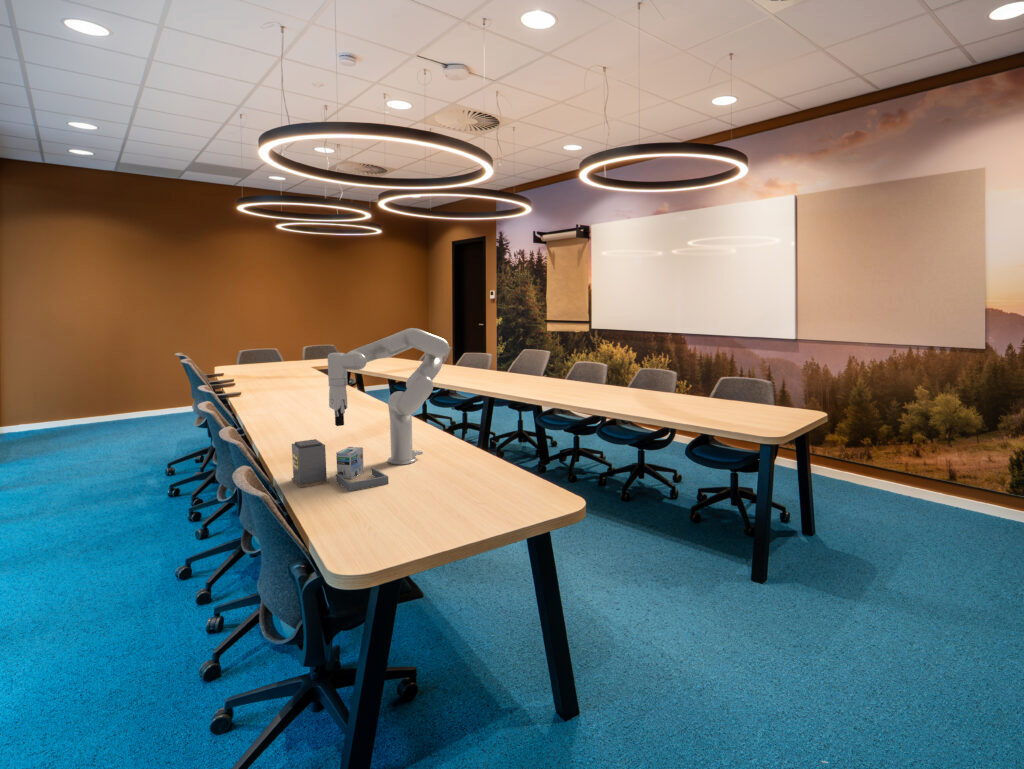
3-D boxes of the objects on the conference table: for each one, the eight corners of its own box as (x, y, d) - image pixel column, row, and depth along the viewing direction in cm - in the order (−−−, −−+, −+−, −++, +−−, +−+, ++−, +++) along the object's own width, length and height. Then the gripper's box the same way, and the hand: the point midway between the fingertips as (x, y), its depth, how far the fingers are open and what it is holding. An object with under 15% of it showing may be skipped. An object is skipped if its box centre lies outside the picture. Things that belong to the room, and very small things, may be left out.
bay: (373, 474, 222) (373, 467, 221) (388, 483, 210) (388, 476, 209) (335, 481, 213) (335, 474, 212) (349, 491, 201) (348, 483, 200)
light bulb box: (352, 479, 215) (350, 453, 214) (336, 478, 217) (335, 452, 215) (364, 472, 226) (363, 446, 224) (349, 471, 227) (348, 446, 226)
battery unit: (319, 475, 221) (317, 437, 219) (329, 482, 211) (327, 443, 209) (291, 480, 214) (289, 441, 212) (299, 488, 204) (297, 447, 202)
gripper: (323, 381, 229) (325, 423, 231) (334, 384, 217) (336, 429, 219) (340, 380, 233) (342, 421, 236) (353, 383, 221) (354, 427, 224)
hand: (339, 425), depth 227 cm, fingers closed
